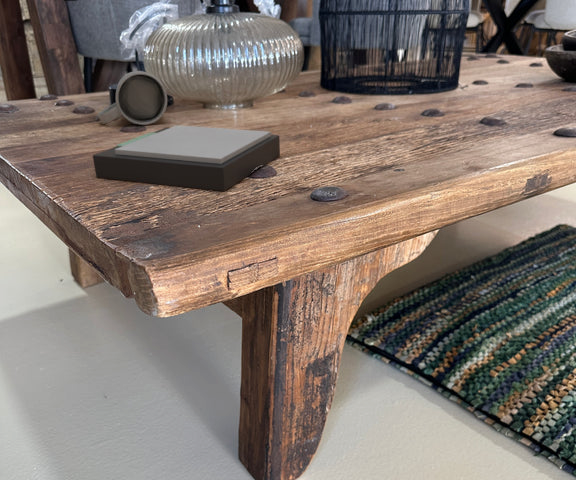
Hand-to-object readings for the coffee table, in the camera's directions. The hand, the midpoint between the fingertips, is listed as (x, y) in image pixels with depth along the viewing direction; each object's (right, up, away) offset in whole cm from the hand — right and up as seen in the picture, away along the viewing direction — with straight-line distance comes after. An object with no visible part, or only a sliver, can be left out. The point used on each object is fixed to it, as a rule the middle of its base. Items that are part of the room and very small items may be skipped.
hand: (113, 0), depth 86 cm
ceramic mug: (+2, -17, +5) cm, 18 cm away
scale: (+15, -29, -19) cm, 38 cm away
